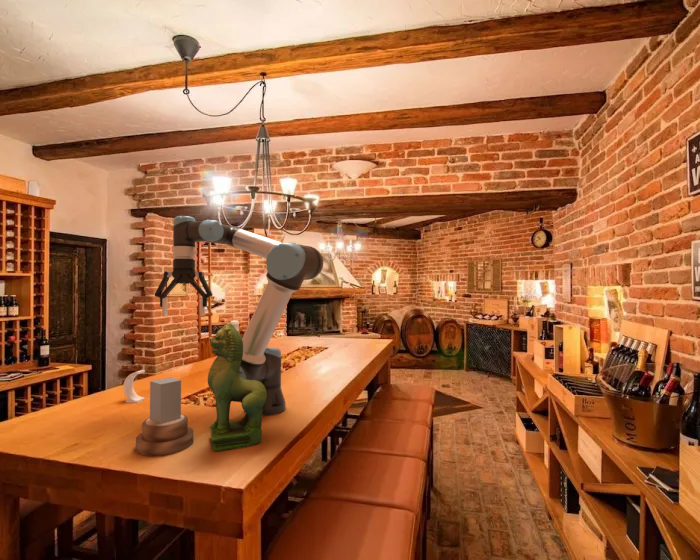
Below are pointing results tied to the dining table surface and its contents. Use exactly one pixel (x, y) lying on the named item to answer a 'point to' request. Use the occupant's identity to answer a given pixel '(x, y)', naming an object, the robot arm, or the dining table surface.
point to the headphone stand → (130, 391)
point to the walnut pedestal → (164, 437)
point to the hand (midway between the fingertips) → (183, 316)
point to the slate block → (165, 400)
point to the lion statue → (234, 394)
